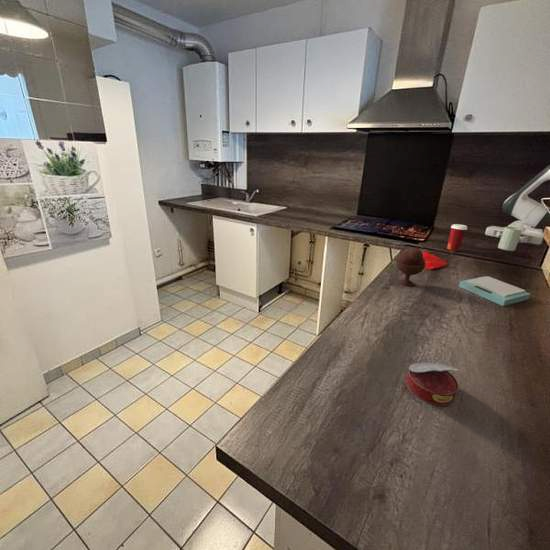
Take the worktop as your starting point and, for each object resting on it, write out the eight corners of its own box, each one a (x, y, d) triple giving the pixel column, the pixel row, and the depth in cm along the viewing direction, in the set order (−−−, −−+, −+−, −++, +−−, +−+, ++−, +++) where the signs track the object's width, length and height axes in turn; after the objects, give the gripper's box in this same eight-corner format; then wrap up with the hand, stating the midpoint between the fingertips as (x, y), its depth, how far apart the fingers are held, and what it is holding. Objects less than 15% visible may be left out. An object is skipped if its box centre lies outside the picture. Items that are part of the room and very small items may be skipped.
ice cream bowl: (421, 281, 120) (430, 247, 114) (418, 291, 111) (427, 254, 105) (394, 275, 125) (401, 242, 119) (389, 285, 116) (397, 249, 110)
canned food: (408, 409, 65) (393, 373, 63) (417, 379, 73) (404, 345, 71) (466, 416, 58) (451, 375, 56) (470, 382, 65) (457, 344, 63)
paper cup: (463, 251, 160) (471, 226, 154) (455, 253, 156) (463, 227, 151) (449, 247, 166) (456, 223, 160) (441, 249, 162) (448, 224, 157)
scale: (528, 299, 108) (531, 291, 107) (503, 306, 102) (506, 298, 101) (482, 281, 122) (485, 274, 121) (458, 286, 117) (460, 279, 115)
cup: (518, 249, 125) (525, 229, 122) (509, 251, 123) (517, 230, 119) (503, 245, 130) (510, 226, 127) (494, 247, 128) (501, 227, 125)
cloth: (445, 273, 129) (447, 268, 128) (412, 266, 136) (413, 262, 135) (448, 257, 150) (449, 253, 149) (419, 252, 156) (420, 248, 155)
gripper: (491, 221, 139) (484, 225, 130) (547, 230, 125) (543, 235, 116) (487, 234, 141) (479, 239, 132) (541, 244, 128) (537, 250, 119)
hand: (510, 237), depth 124 cm, fingers closed on cup, 6 cm apart
